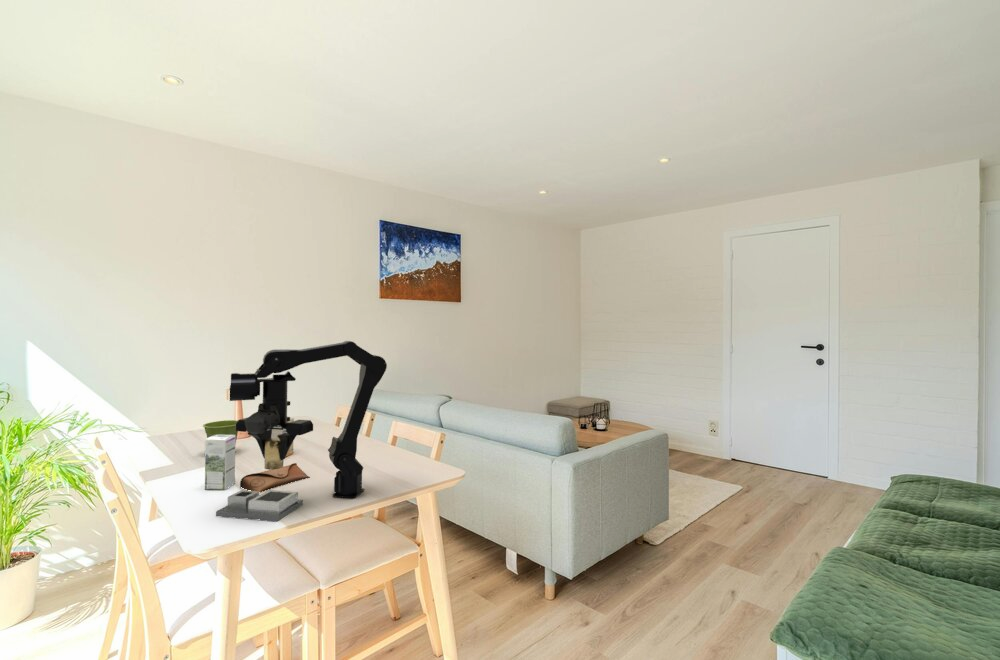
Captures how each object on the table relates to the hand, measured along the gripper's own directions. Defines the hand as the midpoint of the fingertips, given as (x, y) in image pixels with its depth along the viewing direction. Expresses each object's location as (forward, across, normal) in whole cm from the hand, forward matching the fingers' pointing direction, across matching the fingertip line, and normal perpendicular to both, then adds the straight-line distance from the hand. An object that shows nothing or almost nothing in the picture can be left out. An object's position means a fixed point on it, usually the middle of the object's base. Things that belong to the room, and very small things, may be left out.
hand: (274, 459), depth 121 cm
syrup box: (+12, -23, +9) cm, 28 cm away
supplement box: (+12, -27, +40) cm, 50 cm away
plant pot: (+12, -48, +37) cm, 61 cm away
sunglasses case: (+13, -10, +16) cm, 23 cm away
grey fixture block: (+12, -1, -4) cm, 13 cm away
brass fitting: (+2, 0, 0) cm, 2 cm away
